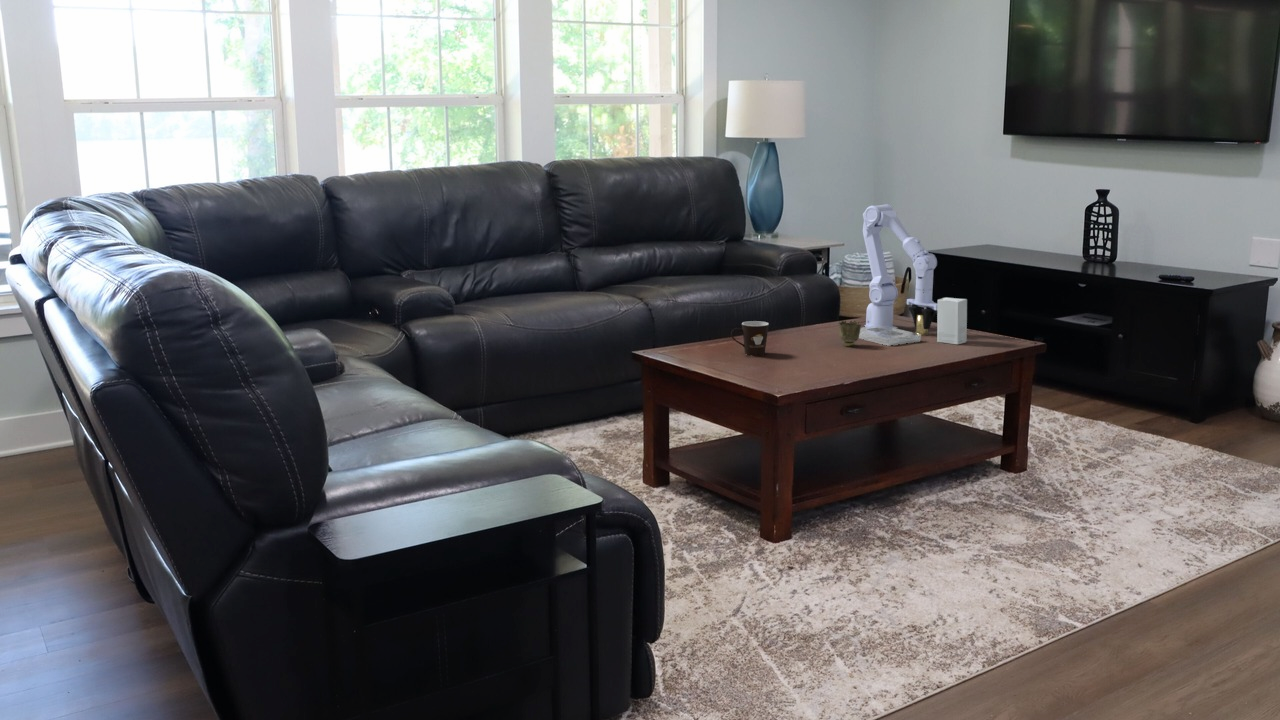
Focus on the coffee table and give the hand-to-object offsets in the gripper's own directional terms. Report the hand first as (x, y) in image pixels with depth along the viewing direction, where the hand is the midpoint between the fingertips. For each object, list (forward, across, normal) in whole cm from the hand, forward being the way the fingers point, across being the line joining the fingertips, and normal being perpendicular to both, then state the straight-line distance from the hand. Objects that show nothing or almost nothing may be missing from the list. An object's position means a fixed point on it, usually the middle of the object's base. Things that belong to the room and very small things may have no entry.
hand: (922, 327), depth 382 cm
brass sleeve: (+2, 0, 0) cm, 2 cm away
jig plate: (+2, +1, +16) cm, 16 cm away
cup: (+3, -2, +34) cm, 34 cm away
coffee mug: (+3, +5, +69) cm, 69 cm away
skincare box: (+3, -15, +1) cm, 15 cm away
